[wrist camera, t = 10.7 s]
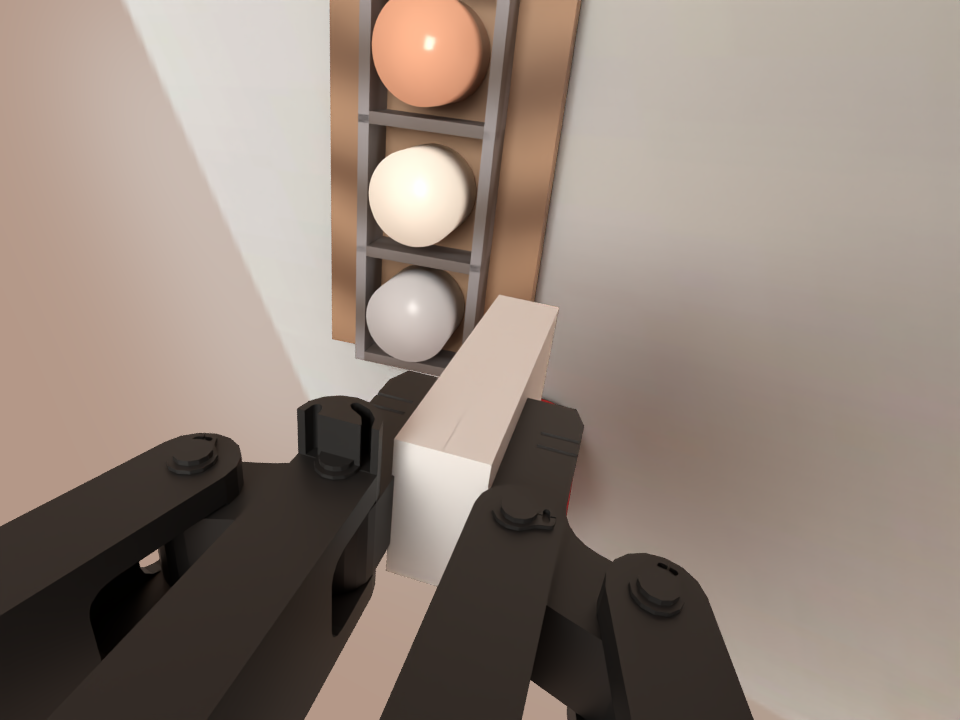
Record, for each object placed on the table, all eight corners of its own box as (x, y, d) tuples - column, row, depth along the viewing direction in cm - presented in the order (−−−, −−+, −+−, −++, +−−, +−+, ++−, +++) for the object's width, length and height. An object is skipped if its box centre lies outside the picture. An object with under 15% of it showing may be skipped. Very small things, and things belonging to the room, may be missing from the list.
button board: (346, -42, 32) (305, -60, 28) (584, -20, 30) (576, -36, 26) (345, 328, 42) (314, 353, 38) (524, 364, 40) (511, 395, 36)
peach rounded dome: (400, -8, 30) (373, -19, 27) (495, 1, 29) (478, -8, 26) (396, 98, 32) (370, 100, 29) (484, 110, 31) (467, 113, 28)
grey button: (389, 257, 36) (367, 273, 33) (468, 271, 35) (452, 289, 32) (387, 331, 38) (365, 353, 35) (460, 346, 38) (444, 369, 35)
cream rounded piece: (394, 137, 33) (369, 142, 30) (480, 149, 32) (463, 156, 29) (391, 225, 35) (367, 238, 32) (471, 238, 35) (455, 254, 31)
